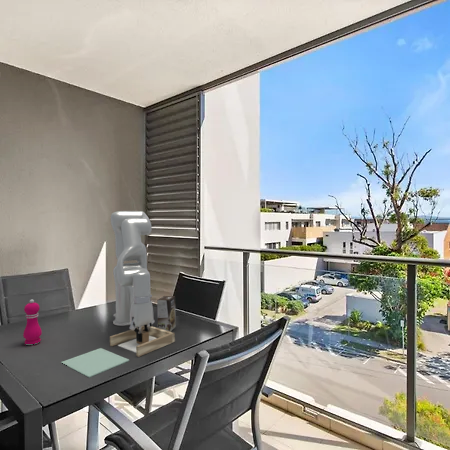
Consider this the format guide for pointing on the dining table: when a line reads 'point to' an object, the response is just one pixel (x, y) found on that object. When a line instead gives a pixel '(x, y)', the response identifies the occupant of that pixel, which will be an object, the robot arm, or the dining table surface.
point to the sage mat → (95, 362)
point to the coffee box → (166, 313)
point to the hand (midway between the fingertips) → (142, 339)
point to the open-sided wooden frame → (160, 341)
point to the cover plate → (133, 344)
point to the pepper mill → (32, 323)
